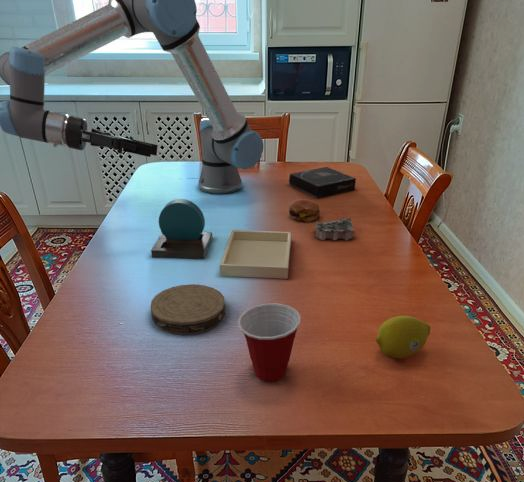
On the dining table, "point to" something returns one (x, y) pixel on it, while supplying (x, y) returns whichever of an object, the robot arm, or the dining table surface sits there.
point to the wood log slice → (188, 309)
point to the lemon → (402, 336)
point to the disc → (181, 220)
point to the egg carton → (335, 229)
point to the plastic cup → (270, 338)
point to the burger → (304, 210)
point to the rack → (182, 247)
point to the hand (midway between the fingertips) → (154, 150)
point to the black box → (322, 182)
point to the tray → (257, 254)
